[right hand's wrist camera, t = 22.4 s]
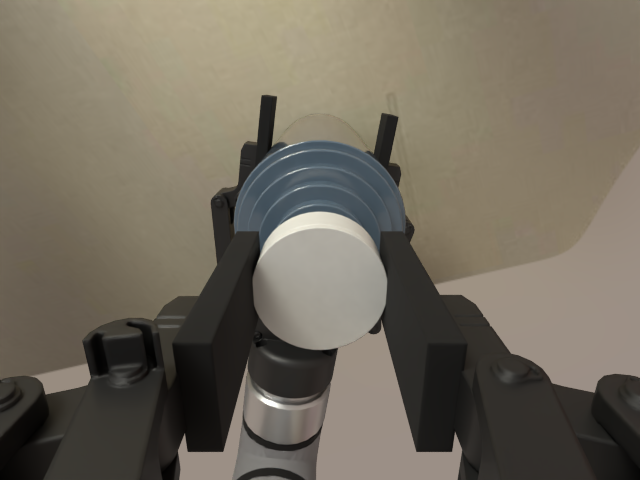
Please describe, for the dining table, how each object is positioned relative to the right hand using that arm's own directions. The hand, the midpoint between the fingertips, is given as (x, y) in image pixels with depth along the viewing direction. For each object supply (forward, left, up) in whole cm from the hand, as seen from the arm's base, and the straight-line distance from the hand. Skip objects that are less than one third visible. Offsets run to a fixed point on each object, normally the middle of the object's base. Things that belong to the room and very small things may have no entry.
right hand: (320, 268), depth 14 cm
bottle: (0, 0, -24) cm, 24 cm away
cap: (0, 0, +1) cm, 1 cm away
